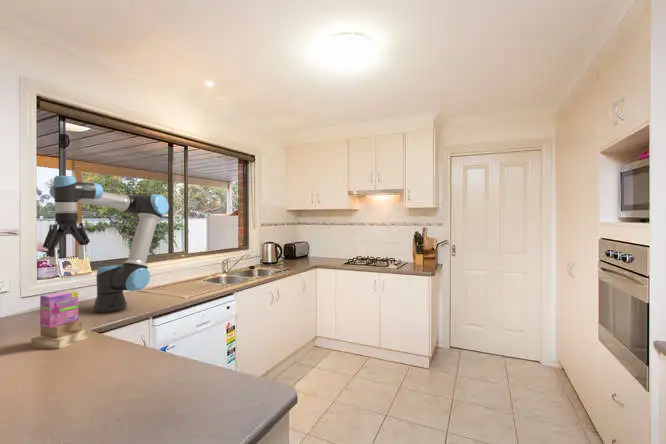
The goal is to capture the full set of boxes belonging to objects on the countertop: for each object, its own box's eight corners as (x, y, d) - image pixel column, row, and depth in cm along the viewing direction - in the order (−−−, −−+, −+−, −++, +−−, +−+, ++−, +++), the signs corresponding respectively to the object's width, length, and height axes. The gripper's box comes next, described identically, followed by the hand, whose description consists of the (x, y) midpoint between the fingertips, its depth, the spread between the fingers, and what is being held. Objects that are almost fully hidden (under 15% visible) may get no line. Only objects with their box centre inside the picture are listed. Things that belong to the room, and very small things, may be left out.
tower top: (65, 328, 136) (65, 319, 136) (81, 330, 133) (81, 320, 133) (40, 336, 127) (40, 325, 127) (57, 338, 125) (57, 327, 125)
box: (49, 328, 124) (49, 296, 124) (39, 326, 126) (39, 295, 126) (79, 320, 134) (79, 290, 134) (69, 318, 136) (69, 289, 136)
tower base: (61, 337, 137) (61, 328, 137) (87, 339, 135) (87, 329, 135) (31, 349, 125) (31, 338, 125) (59, 350, 123) (59, 339, 123)
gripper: (82, 212, 156) (84, 257, 157) (29, 213, 131) (31, 266, 132) (97, 211, 155) (99, 257, 156) (46, 212, 130) (49, 267, 131)
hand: (68, 262), depth 144 cm, fingers open, 13 cm apart
